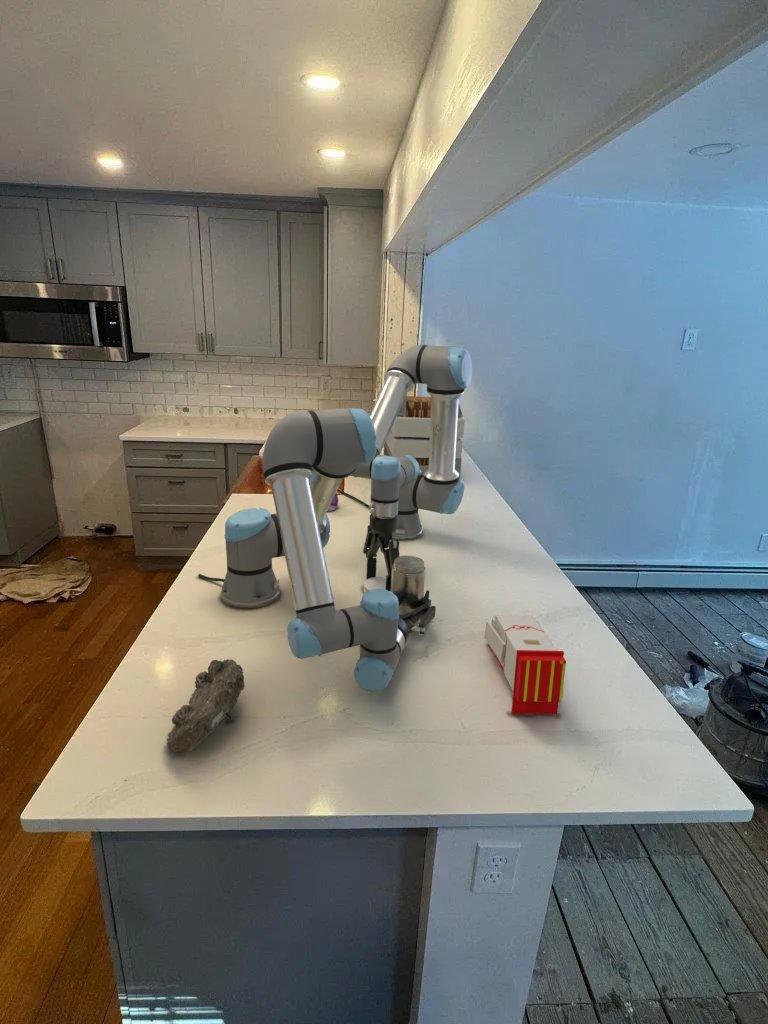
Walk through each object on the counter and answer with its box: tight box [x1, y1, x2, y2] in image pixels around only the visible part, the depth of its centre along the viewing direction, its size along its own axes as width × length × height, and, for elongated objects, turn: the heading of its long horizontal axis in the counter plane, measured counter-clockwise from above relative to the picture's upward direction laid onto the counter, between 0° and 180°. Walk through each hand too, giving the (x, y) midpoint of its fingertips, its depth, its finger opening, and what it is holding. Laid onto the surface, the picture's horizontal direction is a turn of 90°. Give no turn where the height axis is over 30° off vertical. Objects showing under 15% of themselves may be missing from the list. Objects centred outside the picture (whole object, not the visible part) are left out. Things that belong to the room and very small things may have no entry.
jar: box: [391, 555, 426, 625], centre depth 141 cm, size 8×8×17 cm
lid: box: [362, 576, 386, 593], centre depth 160 cm, size 9×9×2 cm
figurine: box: [327, 492, 339, 512], centre depth 219 cm, size 9×10×15 cm
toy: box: [484, 614, 567, 716], centre depth 124 cm, size 12×13×30 cm
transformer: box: [383, 395, 465, 481], centre depth 268 cm, size 34×33×41 cm
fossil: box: [166, 658, 245, 754], centre depth 106 cm, size 22×10×15 cm
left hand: (410, 592), depth 146 cm, fingers closed on jar, 8 cm apart
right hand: (380, 587), depth 160 cm, fingers open, 11 cm apart
